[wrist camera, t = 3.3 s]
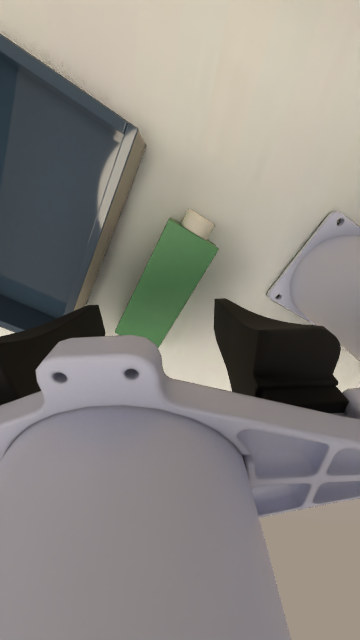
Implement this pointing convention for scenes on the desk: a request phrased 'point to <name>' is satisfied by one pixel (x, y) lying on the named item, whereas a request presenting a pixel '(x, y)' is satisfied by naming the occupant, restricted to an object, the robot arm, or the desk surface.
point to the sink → (55, 188)
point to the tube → (169, 278)
